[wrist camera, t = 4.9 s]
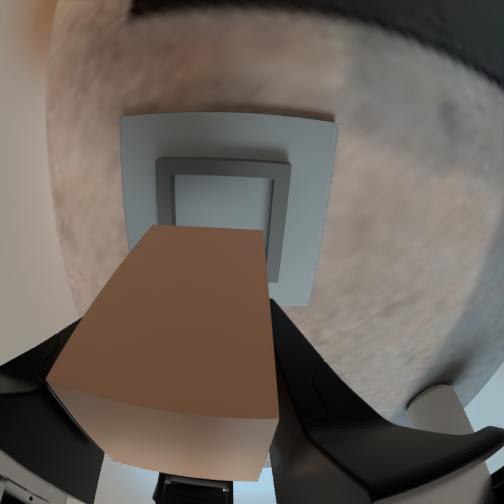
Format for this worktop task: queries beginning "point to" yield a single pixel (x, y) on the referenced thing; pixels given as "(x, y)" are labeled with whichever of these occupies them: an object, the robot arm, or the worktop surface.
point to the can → (439, 412)
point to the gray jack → (234, 183)
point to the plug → (178, 356)
